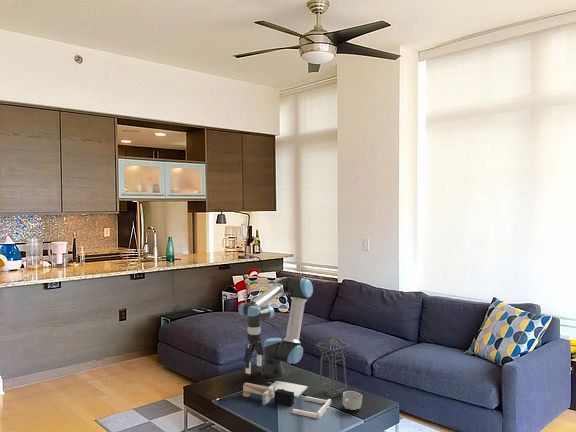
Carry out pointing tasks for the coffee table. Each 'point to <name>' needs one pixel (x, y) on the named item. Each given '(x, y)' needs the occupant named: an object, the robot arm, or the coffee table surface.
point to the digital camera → (284, 397)
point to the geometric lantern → (332, 361)
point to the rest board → (289, 387)
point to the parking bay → (310, 414)
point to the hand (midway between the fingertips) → (253, 369)
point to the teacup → (352, 400)
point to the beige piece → (259, 391)
